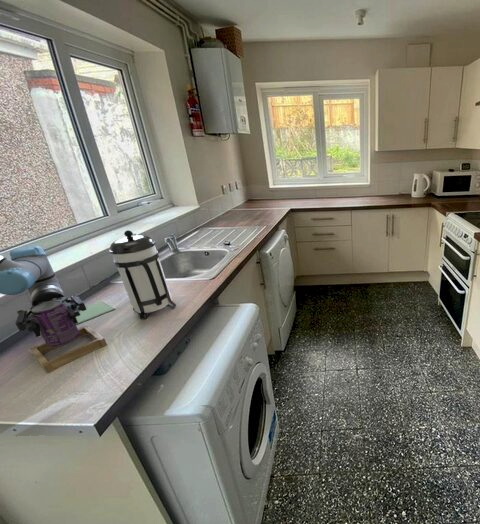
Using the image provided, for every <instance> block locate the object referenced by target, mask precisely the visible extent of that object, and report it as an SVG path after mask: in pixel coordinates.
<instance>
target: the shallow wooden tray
mask: <svg viewBox="0 0 480 524" xmlns="http://www.w3.org/2000/svg"><path fill="white" fill-rule="evenodd" d="M78 330H79V332H80V335H79V336H78V337H77V338H76V339H75V340H77V339H80V338H82V337H85V336H86V335H87V336H88V337H90V339H92V341H89V342H87V343H84V344H83V345H79V346H78V347H76V348H74V349H72V350H69V351H67V352H65V353H63V354H61V355H58V356H55V357H54V358H51V359H50V360H47V358H46V357H45V356H44V355H43V354H45V353H48V352H50V351H53V350H54V349H57V348H59V347H60V346H55V347H49V346H47V344H46V342H45V341H44V342H43V343H40V344H38V345H36V346H35V345H34V346H31V347H29V351H30V352H31V355H32V356H33V357H34V358H35V360H36V361H37V362H38V364H39V365H40V366H41V367H42V368H43V369H44V371H45V372H46V373H47V374H49V373H51V372H54V370H56V369H59V368H60V367H62V366H64V365H67V364H69V363H71V362H73V361H75V360H77V359H79V358H81V357H83V356H86V355H87V354H90V353H92V352H93V351H96V350H98V349H100V348H104V347H106V346H108V344H107V341H106V339H105V338H104V337H103V336H102V335H100V333H98V332H97V331H96V330H94V329H93V328H91V327H90V326H89V325H87V324H85V325H83V326H81V327H79V328H78Z"/></svg>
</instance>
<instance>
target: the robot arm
mask: <svg viewBox="0 0 480 524" xmlns="http://www.w3.org/2000/svg"><path fill="white" fill-rule="evenodd" d="M9 256H10V258H7V257H5V256H3V255H0V295H3V296H4V295H5V296H15V295H20V294H22V293H24V292H26V291H28V293H29V295H30V303H31V306H30V308H29V309H28V310H27V309H24V310H23V309H19V310H17V311H16V313H17V318H16V321H15V325H16V327H17V329H18V330H19V332H23V331H26V330H27V331H28V332H29V333H30V332H33V333H34V335H35V337H36V338H39V337H41V336H42V335H41V333H40V330H39V328H38V326H37V324H36V322H34V320H33V318H32V313H33V312H32V311H31V310H32V308H34V307H35V306H37V305H40V304H42V303H45V302H49V301H54V300H61V301H62V303H63V304H65V305H66V306H67V308H68V310H69V313H70V315H71V317H72V320H73V322H74V324H76V323H78V321H77V319H76V317H77V316H80V313H79V311H85V310H87V309H86V305H85V302H84V301H83V300H82V299H81V298H80V296H79V294H77V293H76V294H73V295H72V296H70V297H66V295H65V292H64V291H63V288H62V284H61V283H60V281H59V280H58V277H57V276H56V274H55V272H54V269H53V267H52V265H51V263H50V260H49V258H48V255H47V253H46V252H45V251H44V249H43V248H42V247H41V245H40V246H39V245H27V246H22V247H18V248H15V249H12V250H10V251H9Z"/></svg>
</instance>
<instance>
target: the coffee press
mask: <svg viewBox="0 0 480 524" xmlns="http://www.w3.org/2000/svg"><path fill="white" fill-rule="evenodd" d="M133 234H134V233H133V231H131V230H128V229H127V230H125V231H124V234H123V235H124V236H125V237H121V238H118V239H116V240H114V241H113V242H111V244H110V245H109V248H108V252H109V254H110V255H111V256H112V258H113V263H114V266H115V267H116V268H117V270H118V273H119V276H120V278H121V281H122V283H123V286H124V289H125V291H126V293H127V297H128V299H129V301H130V303H131V306H132V310H133V311H134V312H136V313H140V314H139V319H140V320H142V321H143V320H146V319H147V318H148V314H149V313H153V312H157V311H159V310H162V309H164V308H167V307H168V308H169V309H173V310H174V309H175V308H176V307H177V304H176V303H175V302H174V301H173V300H172V299H173V298H172V294H171V291H170V287H169V284H168V282H167V278H166V275H165V273H164V269H163V266H162V263H161V260H160V254H159V251H158V249H157V248H156V247H157V246H156V241H155V240H154V239H153V238H152V237H150V236H148V235H143V234H142V235H141V234H136V236H132V235H133Z"/></svg>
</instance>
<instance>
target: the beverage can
mask: <svg viewBox="0 0 480 524" xmlns="http://www.w3.org/2000/svg"><path fill="white" fill-rule="evenodd" d="M31 311H32V312H33V313H31V314H32V318H33V320H34V322H36V324H37V326H38V328H39V330H40V335H41V336H42V338H43V340H44V343H45V342H46V344H47V346H49V347H55V346H59V347H62V346H66V345H68V344H70V343H72V342H74V341H76V340H77V339H76V338H77V337H78V336H79V335H80V332H79V330H78V329H79V328H78V325H76V324H74V322H73V320H72V317H71V315H70V313H69V310H68V308H67V306H66V305H65V304H63V303H62V301H61V300H54V301H49V302H45V303H42V304H40V305H37V306H35V307H34V308H32V310H31Z"/></svg>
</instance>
